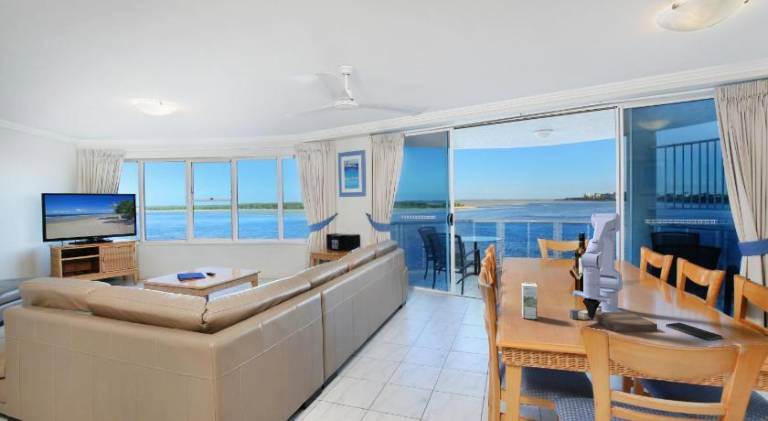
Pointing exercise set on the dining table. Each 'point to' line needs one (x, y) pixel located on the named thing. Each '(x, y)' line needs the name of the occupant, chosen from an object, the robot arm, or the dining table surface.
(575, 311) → the stop block
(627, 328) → the stool seat
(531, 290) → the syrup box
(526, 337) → the dining table surface
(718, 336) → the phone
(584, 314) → the folding leg
